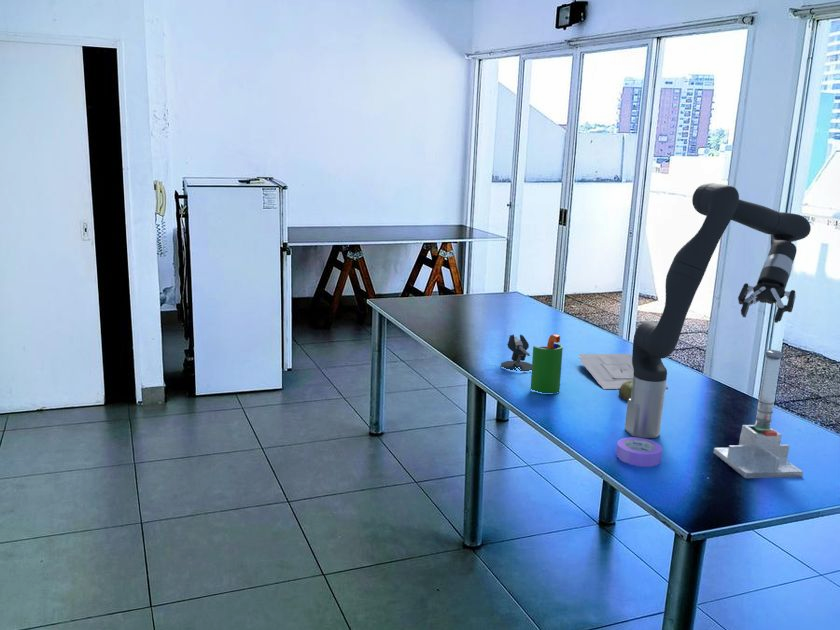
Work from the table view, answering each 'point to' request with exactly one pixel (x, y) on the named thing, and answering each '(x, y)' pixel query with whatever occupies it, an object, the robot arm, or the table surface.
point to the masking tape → (639, 451)
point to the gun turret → (518, 354)
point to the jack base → (759, 455)
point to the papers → (609, 368)
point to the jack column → (767, 390)
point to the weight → (626, 390)
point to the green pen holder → (547, 366)
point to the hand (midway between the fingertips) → (759, 318)
